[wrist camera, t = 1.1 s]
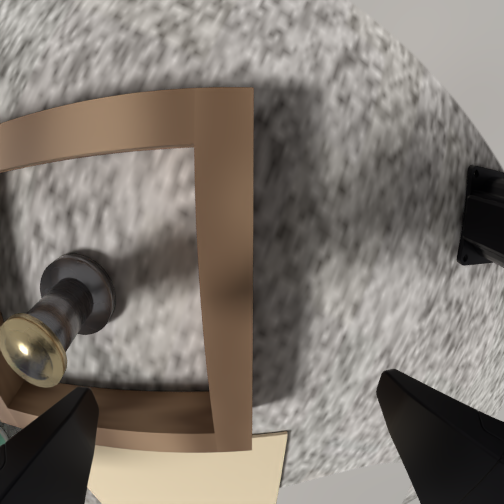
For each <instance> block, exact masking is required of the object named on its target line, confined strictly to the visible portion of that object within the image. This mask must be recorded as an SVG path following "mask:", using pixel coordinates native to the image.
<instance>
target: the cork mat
mask: <svg viewBox="0 0 504 504" xmlns="http://www.w3.org/2000/svg"><path fill="white" fill-rule="evenodd" d="M287 435H288V434H287V431H285V432H277V433H268V434H258V435H252V450H250V451H236V452H214V453H175V452H154V451H140V450H129V449H120V448H112V447H105V446H98V445H95V451H94V456H93V461H92V466H91V471H90V475H89V480H88V486H87V487H88V489H89V490H90V491H91V492H92V493H93V494H94V495H95V497H96V498H97V499H98V500H99V501H100V502H101V503H102V504H276V501H277V496H278V490H279V485H280V479H281V473H282V467H283V461H284V455H285V448H286V441H287Z"/></svg>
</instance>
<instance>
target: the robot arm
mask: <svg viewBox="0 0 504 504" xmlns="http://www.w3.org/2000/svg"><path fill="white" fill-rule="evenodd" d="M474 172H475V174H474ZM463 257H464V258H463ZM457 262H458V263H460V264H461V265H474V264H484V263H493V262H494V263H496V264H498V265H500V266H502V267H503V268H504V173H503V172H499V171H496V170H492V169H488V168H484V167H479V166H474V165H471V166H470V167H469V169H468V175H467V188H466V199H465V208H464V217H463V224H462V231H461V237H460V243H459V249H458V254H457ZM376 394H377V398H378V401H379V404H380V406H381V409H382V412H383V415H384V418H385V422H386V425H387V428H388V430H389V433H390V435H391V438H392V440H393V442H394V444H395V446H396V448H397V451H398V453H399V455H400V457H401V459H402V462H403V464H404V466H405V468H406V470H407V473H408V475H409V478H410V480H411V482H412V484H413V487H414V489H415V491H416V494H417V496H418V498H419V500H420V503H421V504H504V422H502V421H500V420H498V419H495V418H493V417H491V416H489V415H486V414H484V413H482V412H480V411H477V410H476V409H474V408H472V407H470V406H468V405H466V404H464V403H462V402H459V401H457V400H455V399H453V398H451V397H449V396H447V395H445V394H443V393H441V392H439V391H437V390H435V389H433V388H431V387H429V386H427V385H426V384H424V383H422V382H420V381H418V380H416V379H414V378H412V377H410V376H408V375H406V374H404V373H402V372H400V371H398V370H396V369H390V370H385V371H383V373H382V374H381V377H380V380H379V384H378V387H377V391H376ZM98 417H99V406H98V404H97V401H96V399H95V397H94V394H93V392H92V390H91V389H90V388H89V387H82V386H78V387H76V388H75V389H74V390H72V391H71V392H70V393H68V394H67V395H66V396H65V397H63V398H62V399H61V400H59V401H58V402H57V403H56V404H54V405H53V406H52V407H50V408H49V409H48V410H47V411H45V412H44V413H43V414H41V415H40V416H39V417H37V418H36V419H35V420H34V421H32V422H31V423H30V424H28V425H27V426H26V427H25V428H23V429H22V430H21V431H19V432H18V433H17V434H16V435H14V436H13V437H12V438H10V439H9V440H8V441H6V442H5V444H2V445H1V446H0V504H84V502H85V497H86V491H87V486H88V480H89V475H90V471H91V466H92V461H93V456H94V451H95V442H96V433H97V425H98Z"/></svg>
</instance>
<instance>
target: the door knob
mask: <svg viewBox="0 0 504 504" xmlns="http://www.w3.org/2000/svg"><path fill="white" fill-rule="evenodd" d="M40 292H41V297H42V299H41V300H40V301H39V302H38V303H37V304H36V305H35V306H34V307H33V308H32V309H31V310H30V311H29V312H28V313H27V314H23V313H18V314H14V315H12V316H11V317H9V318H8V319H7V320H6V321H5V322H4V323H3V324H2V326H1V327H0V349H1V352H2V354H3V356H4V358H5V360H6V361H7V363H8V364H9V365H10V367H11V368H12V369H13V370H14V371H15V372H16V373H17V374H18V375H19V376H20V377H22V378H23V379H25V380H26V381H28V382H29V383H31V384H34V385H36V386H39V387H45V388H47V387H53V386H55V385H57V384H58V383H59V382H60V380H61V378H62V376H63V374H64V373H65V371H66V368H67V357H66V353H65V352H66V351H67V349H68V348H69V346H70V344H71V343H72V341H73V340H74V338H75V337H76V335H77V334H82V335H88V334H93V333H96V332H98V331H100V330H101V329H102V328H103V327H104V326H105V325H106V324H107V322H108V321H109V319H110V317H111V315H112V313H113V311H114V308H115V291H114V287H113V284H112V282H111V280H110V278H109V276H108V275H107V273H106V272H105V271H104V269H103V268H102V267H101V266H100V265H99V264H97V263H96V262H95V261H93V260H92V259H90V258H88V257H86V256H83V255H80V254H66V255H63V256H61V257H59V258H58V259H56V260H55V261H54V262H52V263H51V264H50V265H49V266H48V267H47V268H46V269H45V271H44V273H43V275H42V278H41V283H40Z"/></svg>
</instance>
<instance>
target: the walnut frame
mask: <svg viewBox="0 0 504 504" xmlns="http://www.w3.org/2000/svg"><path fill="white" fill-rule="evenodd" d="M253 119H254V88H251V87H209V88H185V89H170V90H158V91H148V92H139V93H131V94H124V95H117V96H110V97H104V98H98V99H93V100H87V101H82V102H77V103H73V104H68V105H64V106H59V107H55V108H51V109H47V110H43V111H40V112H36V113H32V114H29V115H25V116H22V117H19V118H16V119H12V120H9V121H6V122H3V123H0V173H3V172H7V171H11V170H16V169H20V168H25V167H30V166H35V165H40V164H46V163H51V162H57V161H63V160H69V159H75V158H82V157H89V156H97V155H105V154H113V153H122V152H132V151H143V150H156V149H170V148H189V147H194V157H195V203H196V229H197V250H198V267H199V283H200V297H201V310H202V322H203V334H204V345H205V355H206V365H207V374H208V383H209V391H202V392H162V391H135V390H119V389H106V388H96V387H89V388H90V389H91V390H92V392H93V394H94V397H95V399H96V401H97V404H98V406H99V417H98V425H97V433H96V442H95V445H98V446H105V447H112V448H120V449H129V450H140V451H154V452H175V453H214V452H236V451H250V450H252V358H253ZM3 323H4V321H3V318H2V315H1V312H0V327H1V326H2V324H3ZM76 387H78V385H70V384H63V383H58V384H57V385H55V386H53V387H47V388H45V387H39V386H36V385H34V384H31V383H29V382H28V381H26V380H25V379H23V378H22V377H20V376H19V375H18V374H17V373H16V372H15V371H14V370H13V369H12V368H11V367H10V365H9V364H8V363H7V361H6V360H5V358H4V356H3V354H2V352H1V349H0V420H1V422H3V423H6V424H9V425H12V426H16V427H19V428H22V429H23V428H25V427H26V426H27V425H28V424H30V423H31V422H32V421H34V420H35V419H36V418H37V417H39V416H40V415H41V414H43V413H44V412H45V411H47V410H48V409H49V408H50V407H52V406H53V405H54V404H56V403H57V402H58V401H59V400H61V399H62V398H63V397H65V396H66V395H67V394H68V393H70V392H71V391H72V390H74V389H75V388H76ZM82 387H86V386H82Z"/></svg>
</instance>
